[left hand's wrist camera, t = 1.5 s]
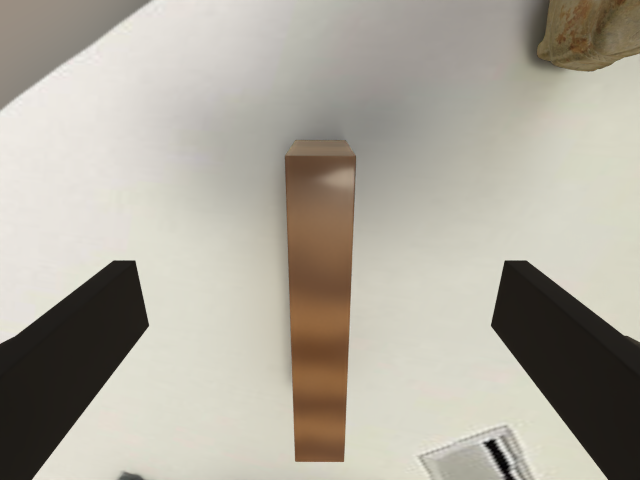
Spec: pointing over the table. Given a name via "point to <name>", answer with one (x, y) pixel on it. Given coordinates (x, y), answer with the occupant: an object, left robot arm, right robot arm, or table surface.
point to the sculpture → (590, 33)
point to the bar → (320, 291)
